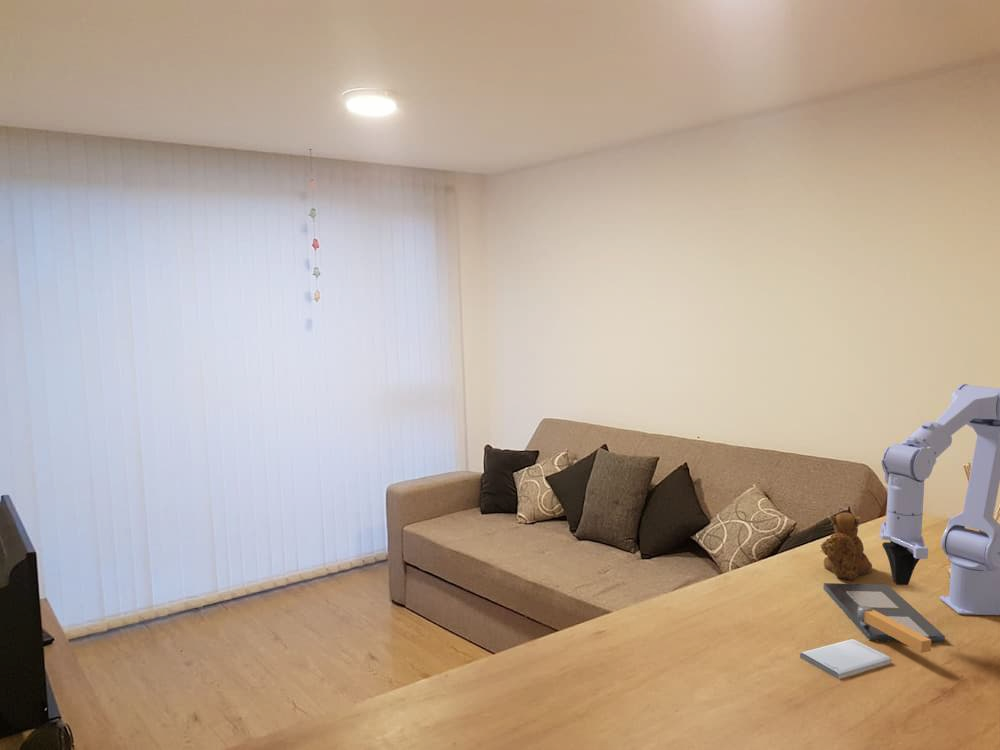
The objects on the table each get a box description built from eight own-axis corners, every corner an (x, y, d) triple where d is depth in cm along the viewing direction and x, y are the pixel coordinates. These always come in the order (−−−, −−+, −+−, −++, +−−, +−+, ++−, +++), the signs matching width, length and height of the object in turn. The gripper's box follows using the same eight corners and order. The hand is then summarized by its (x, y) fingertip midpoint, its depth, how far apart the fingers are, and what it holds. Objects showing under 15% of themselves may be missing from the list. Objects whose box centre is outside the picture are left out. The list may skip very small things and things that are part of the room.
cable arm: (854, 617, 140) (854, 606, 140) (865, 615, 141) (866, 604, 141) (919, 653, 126) (920, 641, 126) (932, 650, 127) (932, 639, 127)
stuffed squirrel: (872, 567, 172) (875, 511, 171) (866, 588, 160) (868, 527, 159) (825, 559, 177) (827, 504, 176) (815, 579, 165) (817, 520, 164)
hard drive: (838, 673, 123) (892, 657, 128) (799, 651, 130) (851, 637, 135) (838, 683, 123) (891, 666, 128) (799, 660, 130) (851, 645, 136)
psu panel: (887, 590, 159) (887, 579, 159) (946, 643, 135) (946, 631, 135) (821, 588, 160) (822, 578, 160) (868, 641, 136) (869, 629, 136)
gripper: (865, 499, 144) (862, 568, 146) (899, 522, 130) (895, 599, 131) (904, 500, 144) (900, 569, 145) (942, 523, 129) (937, 600, 131)
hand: (900, 583), depth 138 cm, fingers closed
